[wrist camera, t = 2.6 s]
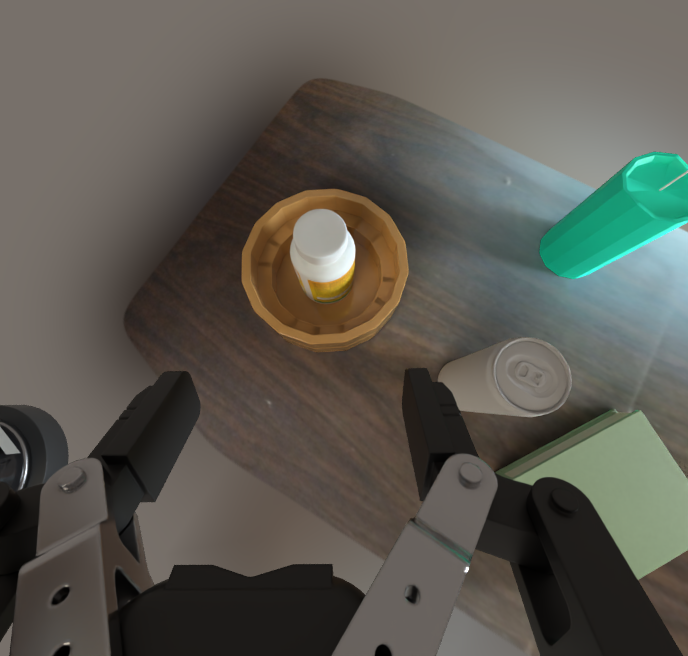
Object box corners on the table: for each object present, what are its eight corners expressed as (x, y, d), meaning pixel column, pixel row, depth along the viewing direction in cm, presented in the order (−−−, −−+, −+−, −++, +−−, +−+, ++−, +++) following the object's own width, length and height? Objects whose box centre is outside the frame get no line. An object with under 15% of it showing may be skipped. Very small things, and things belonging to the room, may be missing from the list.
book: (555, 590, 26) (581, 614, 23) (491, 473, 28) (508, 482, 25) (682, 516, 27) (721, 529, 25) (611, 409, 30) (640, 409, 27)
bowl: (291, 377, 31) (280, 373, 26) (236, 252, 34) (217, 227, 29) (424, 313, 32) (438, 297, 27) (359, 198, 35) (361, 165, 30)
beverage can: (473, 420, 29) (556, 434, 18) (427, 394, 30) (477, 391, 18) (494, 375, 30) (586, 359, 19) (448, 350, 31) (509, 320, 19)
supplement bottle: (290, 285, 32) (267, 238, 23) (323, 246, 33) (313, 186, 24) (332, 316, 31) (325, 280, 22) (364, 276, 32) (371, 225, 23)
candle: (565, 289, 32) (689, 226, 20) (527, 244, 33) (623, 159, 22) (609, 260, 33) (754, 182, 21) (570, 216, 34) (687, 119, 22)
